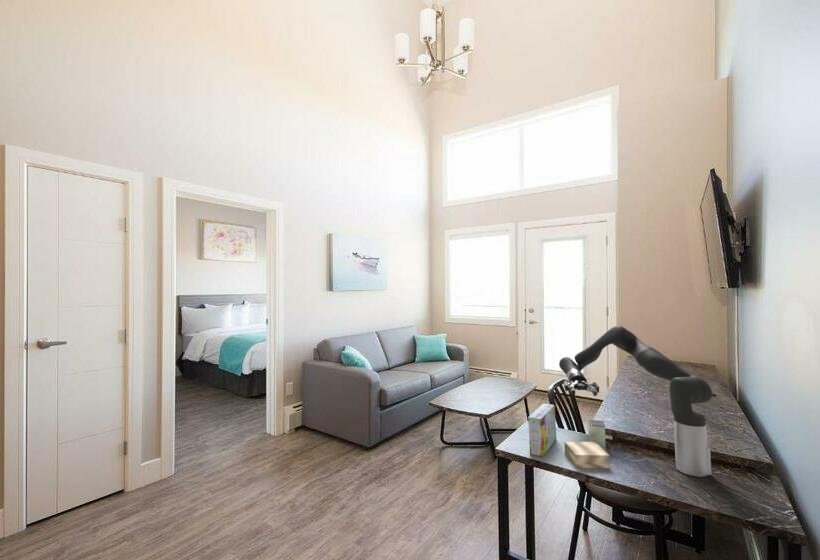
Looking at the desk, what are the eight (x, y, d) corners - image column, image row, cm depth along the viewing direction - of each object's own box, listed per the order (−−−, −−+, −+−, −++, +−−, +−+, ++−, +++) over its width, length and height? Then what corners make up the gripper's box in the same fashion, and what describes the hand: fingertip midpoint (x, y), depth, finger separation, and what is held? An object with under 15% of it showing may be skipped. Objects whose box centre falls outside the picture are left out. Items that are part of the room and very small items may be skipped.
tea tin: (589, 443, 156) (588, 419, 157) (603, 445, 154) (603, 421, 155) (590, 448, 151) (589, 424, 152) (605, 450, 149) (604, 425, 150)
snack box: (543, 436, 164) (542, 402, 165) (557, 439, 161) (555, 404, 162) (528, 454, 147) (527, 416, 148) (542, 457, 144) (541, 418, 144)
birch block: (595, 454, 146) (595, 441, 147) (609, 469, 134) (609, 455, 135) (564, 454, 147) (564, 441, 147) (576, 468, 135) (575, 454, 135)
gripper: (561, 370, 178) (567, 384, 162) (592, 372, 175) (602, 386, 159) (560, 385, 179) (567, 400, 163) (592, 387, 176) (602, 402, 160)
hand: (584, 393), depth 161 cm, fingers open, 8 cm apart
